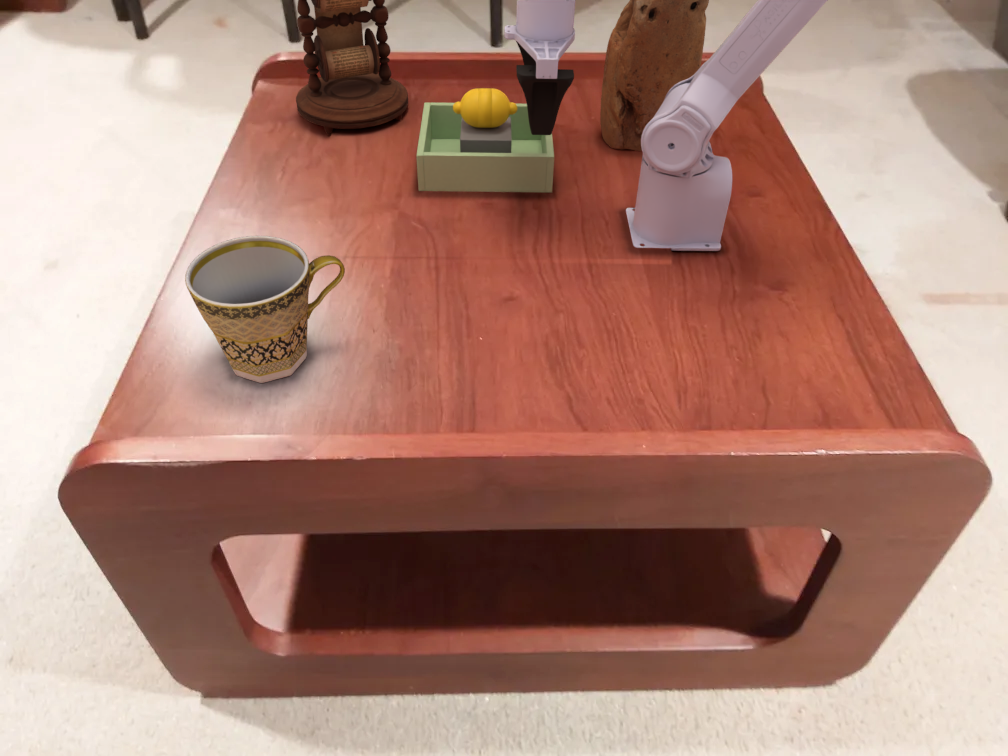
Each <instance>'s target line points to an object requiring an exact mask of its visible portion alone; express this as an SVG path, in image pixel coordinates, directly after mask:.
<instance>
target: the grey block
mask: <svg viewBox="0 0 1008 756" xmlns="http://www.w3.org/2000/svg"><path fill="white" fill-rule="evenodd" d="M511 145H512V137H511V117H508V119H507V120H506V122H505V123H503V124H502V125H500V126H498V127H494V128H478V127H473V126H470V125H469V124H467V123H466V122H465V121H464V120H463V118H462V120H461V134H460V152H463V153H511Z"/></svg>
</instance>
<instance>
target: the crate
mask: <svg viewBox="0 0 1008 756" xmlns="http://www.w3.org/2000/svg"><path fill="white" fill-rule="evenodd" d="M454 103H455V102H437V101H435V102H429V101H428V102H424V103H423V109H422V115H421V122H420V129H419V134H418V142H417V148H416V149H417V150H416V154H415V155H416V156H415V157H416V170H417V173H416V174H417V186H418V187H417V188H418V192H473V193H474V192H481V193H484V192H486V193H488V192H489V193H553V184H554V169H555V150H554V140H553V133H552V134H551V135H532V134H531V130H530V125H529V118H528V109H527V103H515V104H516V105H517V112H516V113H515V114H513V115H509V117H511V137H512V145H511V153H463V152H460V134H461V120H462V116H461V114H456V113H455V112H454V111H453V105H454Z"/></svg>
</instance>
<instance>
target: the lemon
mask: <svg viewBox="0 0 1008 756" xmlns="http://www.w3.org/2000/svg"><path fill="white" fill-rule="evenodd" d="M453 103H454V105H453V111H454V112H455V113H456V114H461V116H462V118H463V120H464V121H465V122H466V123H467V124H469V125H470V126H473V127H478V128H494V127H498V126H500V125H502V124H503V123H505V122H506V120H507V119H508V117H509V115H513V114H515V113H516V112H517V105H516V104H517V103H515V102H512V101H510V99H509V97H508V96H507V95H506V94H505V93H504V92H503V91H502V90H500V89H497V88H494V87H493V88H492V87H491V88H489V87H488V88H487V87H477V88H473V89H470V90H468V91H467V92H466V93H465V94H463V96H462V98H461V99H460V101H455V102H453Z"/></svg>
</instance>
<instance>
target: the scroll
mask: <svg viewBox="0 0 1008 756" xmlns="http://www.w3.org/2000/svg"><path fill="white" fill-rule="evenodd" d="M310 2H311V4H312V5H313V10H314V17H313V16H311V15H310V13H311V7H310V4H309V2H308V0H297V8H296V9H297V13H298V14H299V16H298V17H297V19H296V24H297V28H298V31H299V33H300V35H301V36H302V37H303V44H302V49H303V52H304V53H306V54H305V55H303V64H304V66H305V67H306V68H307V70H306V73H307V74H308V75H309V76H308V81H307V83H306V84H305V85H304V86H303V87H301V88H300V90H299V91H298V92H297V94H296V97H295V102H296V109H297V112H298V114H299V115H300V117H302V118H303V119H304V120H306V121H307V122H310V123H312V124H314V125H318V126H321V127H323V129H324V132H325V133H326V135H327V136H331V135H332V134H333V130H334V129H338V130H339V129H340V130H341V129H342V130H354V129H355V130H356V129H365V128H372V127H375V126H380V125H383V124H385V123H389V122H390V121H393V120H395V121H401V120H402V119H403V113H404V112H405V111H406V110H407V108H408V107H409V93H408V90H407V88H406V86H404V85H403V83H402V82H400V81H398V80H396V79H394V78H392V70H391V68H390V65H389V62H391V61H390V58H389V56H390V54H391V51H392V50H391V47H390V45H389V44H388V43H387V41H388V39H389V36H388V32H387V30H386V26H387V25H388V23H387V22H388V21H389V11H388V8H387V6H386V5H384V4H385V3H386V0H310ZM370 2H372V3H373V4H374V6H373V7H371V9H370V11H368V10H366V9H364V10H362V9H361V8H366V7H368V5H369V3H370ZM370 21H372V22H374V25H375V26H376V27H377V28H376V33H374V31H372V29H371V28H369V27H366V28H365V30H364V34H363V24H367V23H369V22H370ZM315 30H316V35H315V36H314V31H315ZM313 36H314V38H312V37H313ZM318 73H319V75H320V77H319V76H318Z"/></svg>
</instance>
